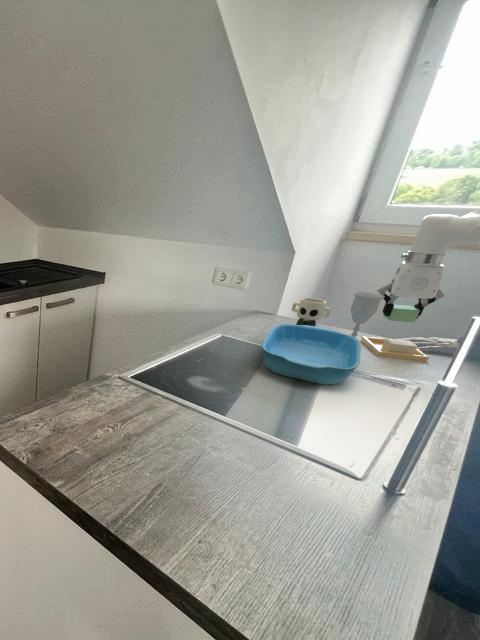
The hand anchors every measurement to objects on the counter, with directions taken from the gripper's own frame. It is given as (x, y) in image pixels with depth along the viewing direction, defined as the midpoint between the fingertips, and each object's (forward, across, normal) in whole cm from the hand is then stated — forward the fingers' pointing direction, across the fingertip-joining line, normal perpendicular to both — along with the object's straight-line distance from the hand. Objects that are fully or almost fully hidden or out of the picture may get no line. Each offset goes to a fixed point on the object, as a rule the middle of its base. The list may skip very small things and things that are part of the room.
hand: (399, 315), depth 123 cm
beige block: (+11, 0, -6) cm, 12 cm away
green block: (+1, 0, 0) cm, 1 cm away
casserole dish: (+11, -27, -24) cm, 38 cm away
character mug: (+12, -22, +5) cm, 25 cm away
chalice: (+11, -11, -4) cm, 16 cm away
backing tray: (+11, 0, -3) cm, 12 cm away
